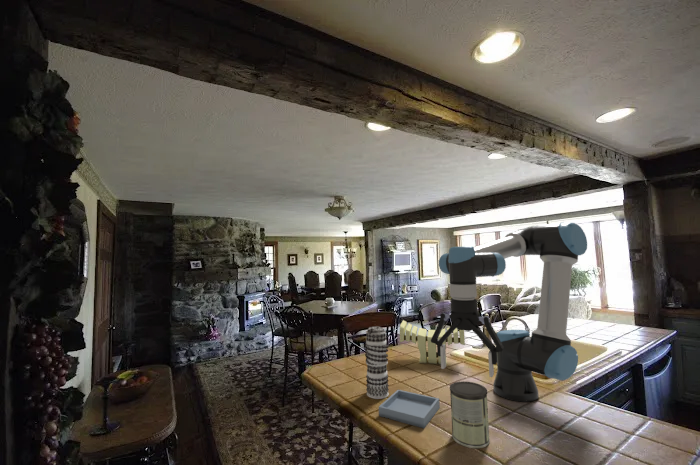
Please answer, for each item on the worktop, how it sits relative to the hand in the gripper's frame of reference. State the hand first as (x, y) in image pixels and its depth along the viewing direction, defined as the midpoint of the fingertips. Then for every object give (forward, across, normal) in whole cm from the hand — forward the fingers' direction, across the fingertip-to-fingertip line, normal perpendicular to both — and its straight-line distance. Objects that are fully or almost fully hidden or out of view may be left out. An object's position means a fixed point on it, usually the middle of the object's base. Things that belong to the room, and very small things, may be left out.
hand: (466, 371), depth 95 cm
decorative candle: (+19, +37, -13) cm, 43 cm away
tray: (+19, +21, -6) cm, 29 cm away
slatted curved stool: (+19, +31, -61) cm, 71 cm away
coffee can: (+19, 0, 0) cm, 19 cm away
